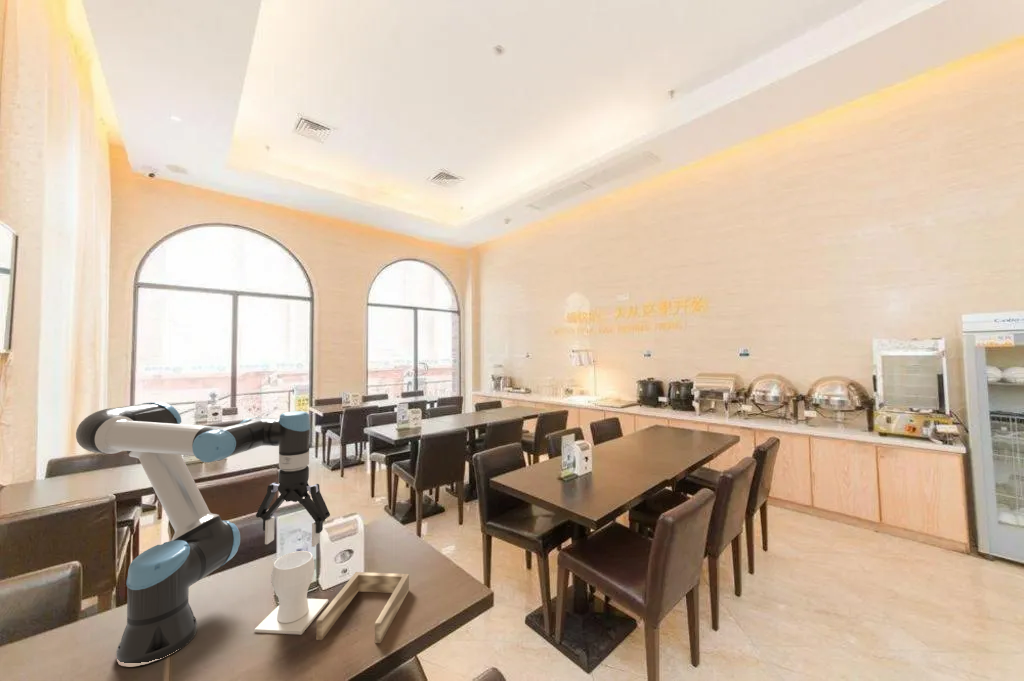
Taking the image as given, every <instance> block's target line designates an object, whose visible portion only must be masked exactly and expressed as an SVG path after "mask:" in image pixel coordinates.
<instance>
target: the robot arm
mask: <svg viewBox="0 0 1024 681" xmlns="http://www.w3.org/2000/svg"><path fill="white" fill-rule="evenodd" d="M310 423H311V422H310V414H309V413H308V412H307V411H303V410H299V411H298V410H297V411H294V410H293V411H286V412H283V413H281V414H280V415H279V418H267V417H266V418H265V417H264V418H263V417H259V416H258V417H248V418H244V419H242V421H240V422H239V423H237V424H232V425H229V426H210V425H199V424H198V425H197V424H187V423H186V424H185V423H182V416H181V415H180V412H179V411H178V410H177V409H176V408H175V407H174V406H173V405H171V404H169V403H166V402H159V401H158V402H157V401H156V402H144V403H141V404H135V405H133V404H132V405H126V406H125V405H124V406H119V407H118V406H117V407H110V408H104V409H101V410H97V411H95V412H93V413H91V414H89V415H88V416H87V417H85V418H84V419H82V421H81V422H80V423H79V424H78V426H77V429H76V431H75V438H76V442H77V443H78V445H79V446H80V447H81V448H82V449H84V450H86V451H89V452H92V453H98V454H109V455H110V454H111V455H112V454H117V453H120V452H124V451H126V453H127V455H128V456H129V457H131V458H135V459H138V460H139V462H140V464H141V466H142V468H143V470H144V472H145V474H146V476H147V479H148V481H149V482H150V484H151V486H152V488H153V490H154V492H155V494H156V496H157V498H158V500H159V503H160V504H161V507H162V509H163V511H164V512H165V514H166V516H167V519H168V520H169V522H170V524H171V527H172V528H173V530H174V534H173V536H172V538H171V540H169V541H166V542H163V543H162V544H157V545H156V544H155V545H154V546H152V547H150V548H148V549H146V550H144V551H142V552H141V553H140V554H138V555H137V556H136V557H135V558H133V560H132V562H131V563H130V564H129V567H128V571H127V577H126V587H127V590H126V591H127V594H126V595H127V599H126V603H127V604H126V625H125V628H124V631H123V633H122V636H121V639H120V640H121V641H120V642H119V644H118V646H117V649H116V652H115V653H116V654H115V656H116V657H117V659H118V660H119V661H120V662H124V663H141V662H149V661H152V660H155V659H160V658H163V657H165V656H167V655H169V654H171V653H173V652H175V651H176V650H178V649H180V648H181V649H183V648H184V647H185V646H187V645H188V644H189V643H191V641H192V640H193V639H194V637H195V636H196V633H197V631H198V629H197V628H198V626H197V625H198V621H197V618H196V616H195V615H194V612H193V610H192V607H191V606H190V603H189V602H190V601H189V592H190V591H189V588H190V587H191V586H192V585H194V584H195V583H198V582H199V581H200V580H202V579H203V578H205V577H206V576H208V575H210V574H212V573H213V572H214V571H216V570H217V569H220V568H221V567H223V566H224V565H225V564H226V563H228V562H229V561H231V560H232V559H233V557H235V555H236V554H237V552H238V550H239V547H240V544H241V533H240V530H239V528H238V526H237V525H236V524H235V523H234V522H231V521H229V520H222V518H221V515H220V514H217V513H212V512H211V511H210V510H209V507H208V505H207V503H206V501H205V499H204V498H203V495H202V493H201V491H200V490H199V487H198V486H197V483H196V481H195V480H194V477H193V476H192V474H191V472H190V470H189V468H188V466H187V464H186V461H185V460H184V458H183V456H192V457H195V458H196V459H197V460H200V462H202V463H212V462H216V461H222V460H224V459H227V458H230V457H232V456H236V455H238V454H240V453H244V452H247V451H250V450H252V449H256V448H258V447H263V446H267V447H268V446H270V447H278V468H279V469H278V472H277V474H278V477H277V478H278V480H277V482H272V483H270V484H268V485H267V491H266V494H265V496H264V498H263V500H262V501H261V504H260V505H259V507H258V510H257V512H256V513H255V517H256V518H261V519H262V530H263V531H264V545H269V544H270V543H272V542H273V541H274V540H275V518H276V517H275V516H273V515H274V513H275V512H276V511H277V510H278V509H279V508H280V507H281V505H282V504H283V503H284V502H294V503H299V504H300V505H302V506H303V507H304V509H305V510H306V511H307V513H308V514H309V516H310V517H311V518H312V519H313V522H311V547H316V546H317V545H318V544H319V543H320V541H321V540H320V539H321V532H323V528H324V527H323V526H324V521H325V520H326V519H328V518H330V517H331V513H330V510H329V509H328V507H327V504H326V502H325V500H324V497H323V495H322V493H321V490H320V489H321V488H320V484H319V483H316V484H314V485H309V479H310V478H309V477H310V466H309V464H310V433H311V432H310V430H311V424H310ZM277 491H278V492H279V494H280V495H278V497H277V498H276V499H275V501H274V503H272V501H273V499H274V497H275V496H276V493H277ZM311 498H312V499H311ZM271 503H272V504H271ZM270 505H271V506H270ZM187 643H188V644H187ZM186 644H187V645H186ZM183 646H184V647H183ZM182 647H183V648H182ZM181 649H180V650H181ZM178 651H179V650H178ZM175 653H176V652H175Z"/></svg>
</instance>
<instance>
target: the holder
mask: <svg viewBox="0 0 1024 681" xmlns="http://www.w3.org/2000/svg"><path fill="white" fill-rule="evenodd" d="M409 591H410V574H409V573H393V572H392V573H388V572H366V571H365V572H360V571H356V572H355V573H354V574H353V575H352V576H351V578H349V580H348V581H347V582H346V584H345V585H344V586H343V587H342V589H340V590H339V592H338V593H337V594H336V595H335V597H334V598H333V599H332V600H331V602H330V603H329V604H328V605H327V607H326V608H325V609H324V610H323V611H322V613H321V614H320V615H319V617H318V618H317V619H316V637H315V638H316V641H322V640H324V638H325V637H326V635H327V634H328V633H329V632H330V630H331V629H332V627H333V626H334V625H335V623H336V622H337V621H338V619H340V617H341V615H342V613H344V611H345V610H346V609H347V607H348V606H349V605H350V603H352V600H353V599H354V598H355V596H356V595H357V594H358V592H361V593H363V592H367V593H391V595H390V597H388V598H389V599H388V600H387V602H386V604H385V605H384V607H383V608H382V610H381V612H380V614H379V616H378V618H376V620H375V622H374V643H375V644H381V643H382V642H383V640H384V637H385V636H386V634H387V632H388V630H389V628H390V626H391V625H392V623H393V621H394V619H395V618H396V615H397V614H398V611H399V609H400V608H401V606H402V604H403V602H404V600H405V598H406V597H407V595H408V593H409Z"/></svg>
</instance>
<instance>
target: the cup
mask: <svg viewBox="0 0 1024 681" xmlns="http://www.w3.org/2000/svg"><path fill="white" fill-rule="evenodd" d="M314 575H315V560H314V555H313V554H312V553H311V552H310V551H306V550H300V551H299V550H297V551H293V552H289V553H285V554H284V555H282V556H280V557H278V558H277V559H276V560H275V561H274V563H273V566H272V570H271V574H270V577H271V578H270V579H271V580H270V581H271V582H270V583H271V586H272V589H273V592H274V593H275V595H277V599H278V605H279V609H278V614H277V620H278V621H279V622H281V623H290V622H294V621H296V620H299V619H300V618H302V617H303V616H305V615H306V614H307V612H308V610H309V607H308V600H307V598H308V590H309V587H310V585H311V583H312V581H313V578H314Z"/></svg>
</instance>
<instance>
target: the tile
mask: <svg viewBox="0 0 1024 681" xmlns="http://www.w3.org/2000/svg"><path fill="white" fill-rule="evenodd" d="M307 600H308V607H309V610H308V612H307V614H306V615H305V616H303V617H302V618H300V619H299V620H296V621H294V622H290V623H281V622H279V621H278V620H277V614H278V609H279V604H278V606H277V607H275V608H274V609H273V610H272V611H271V612H270V613H269V614H268V615H267V616H266V617H265V618H263V620H262V621H261V622H260V623H259V624H258V625H257V626H256V627H255V628H254V633H259V634H261V633H262V634H280V635H281V634H282V635H283V634H284V635H285V634H286V635H303V633H305V630H307V629H308V628H309V627H310V625H311V624H312V622H313V621H314V620H315V619H316V617H318V615H319V614H320V613H321V612H322V610H323V609H324V608H325V607H326V606H327V604H328V603H329V599H328V598H308V597H307Z"/></svg>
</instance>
